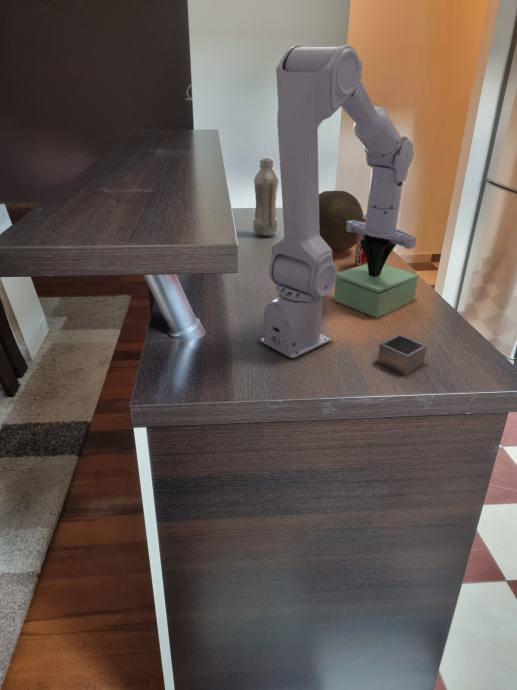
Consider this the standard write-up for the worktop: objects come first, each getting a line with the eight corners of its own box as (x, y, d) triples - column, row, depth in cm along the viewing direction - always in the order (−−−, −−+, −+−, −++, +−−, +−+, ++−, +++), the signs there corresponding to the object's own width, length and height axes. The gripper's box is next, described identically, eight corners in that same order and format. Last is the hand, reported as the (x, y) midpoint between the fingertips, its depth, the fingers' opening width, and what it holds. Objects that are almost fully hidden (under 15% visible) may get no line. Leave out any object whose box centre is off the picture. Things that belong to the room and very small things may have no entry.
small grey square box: (404, 375, 79) (408, 356, 78) (377, 362, 83) (379, 343, 81) (423, 364, 82) (427, 345, 81) (396, 351, 86) (399, 333, 84)
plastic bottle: (249, 233, 143) (249, 158, 134) (270, 230, 146) (272, 156, 136) (258, 239, 138) (259, 162, 129) (281, 236, 141) (283, 160, 131)
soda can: (348, 265, 122) (353, 214, 116) (374, 261, 124) (380, 212, 118) (363, 275, 116) (369, 222, 110) (390, 271, 118) (397, 220, 112)
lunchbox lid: (378, 292, 94) (378, 289, 94) (333, 276, 101) (334, 273, 101) (418, 277, 102) (418, 274, 102) (374, 263, 109) (375, 260, 109)
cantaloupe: (351, 241, 138) (357, 184, 130) (367, 259, 125) (374, 197, 118) (299, 242, 136) (302, 185, 129) (310, 261, 124) (314, 198, 117)
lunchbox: (376, 317, 97) (379, 294, 95) (333, 300, 104) (335, 278, 101) (414, 300, 104) (418, 278, 102) (372, 284, 111) (374, 263, 109)
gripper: (430, 209, 92) (418, 280, 98) (365, 195, 101) (358, 260, 108) (407, 216, 88) (396, 289, 94) (342, 200, 97) (336, 268, 104)
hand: (374, 274), depth 101 cm, fingers closed, pressing on lunchbox lid
